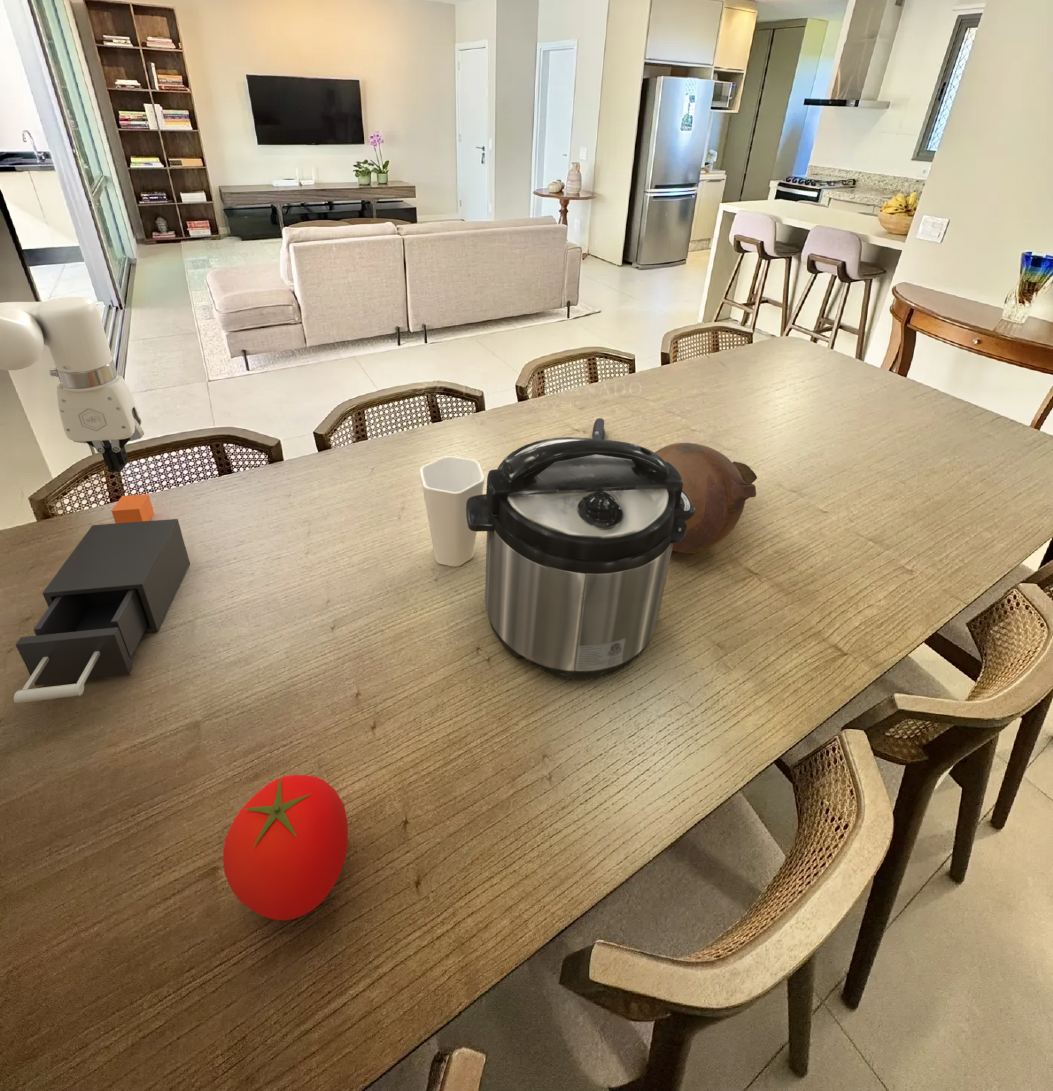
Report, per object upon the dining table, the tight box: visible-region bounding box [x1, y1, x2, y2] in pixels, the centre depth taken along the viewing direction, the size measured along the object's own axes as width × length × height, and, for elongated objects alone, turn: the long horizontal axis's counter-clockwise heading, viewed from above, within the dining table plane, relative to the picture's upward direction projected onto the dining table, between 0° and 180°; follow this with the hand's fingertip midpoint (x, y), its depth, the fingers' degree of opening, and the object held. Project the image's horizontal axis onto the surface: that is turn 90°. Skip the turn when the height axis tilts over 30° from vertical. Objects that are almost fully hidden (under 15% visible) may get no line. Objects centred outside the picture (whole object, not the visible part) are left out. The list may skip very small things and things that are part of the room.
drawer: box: [13, 589, 149, 704], centre depth 81 cm, size 20×11×8 cm, turn 10°
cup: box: [419, 455, 486, 568], centre depth 102 cm, size 11×10×17 cm
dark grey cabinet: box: [42, 518, 191, 635], centre depth 91 cm, size 15×13×10 cm
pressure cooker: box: [466, 436, 695, 681], centre depth 87 cm, size 30×28×32 cm
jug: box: [653, 442, 758, 554], centre depth 111 cm, size 20×20×30 cm
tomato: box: [222, 774, 349, 921], centre depth 58 cm, size 11×11×13 cm
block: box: [111, 493, 155, 524], centre depth 109 cm, size 4×4×4 cm
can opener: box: [591, 417, 606, 440], centre depth 138 cm, size 18×7×6 cm, turn 166°
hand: (118, 467), depth 104 cm, fingers closed
